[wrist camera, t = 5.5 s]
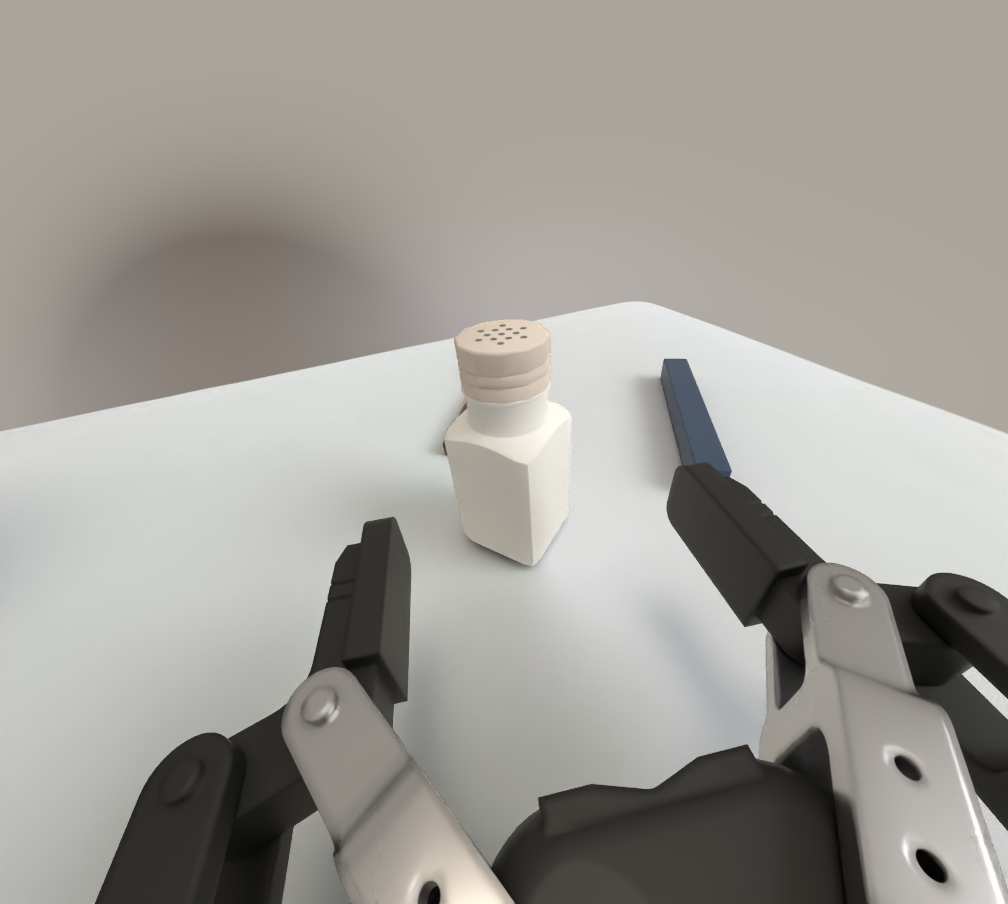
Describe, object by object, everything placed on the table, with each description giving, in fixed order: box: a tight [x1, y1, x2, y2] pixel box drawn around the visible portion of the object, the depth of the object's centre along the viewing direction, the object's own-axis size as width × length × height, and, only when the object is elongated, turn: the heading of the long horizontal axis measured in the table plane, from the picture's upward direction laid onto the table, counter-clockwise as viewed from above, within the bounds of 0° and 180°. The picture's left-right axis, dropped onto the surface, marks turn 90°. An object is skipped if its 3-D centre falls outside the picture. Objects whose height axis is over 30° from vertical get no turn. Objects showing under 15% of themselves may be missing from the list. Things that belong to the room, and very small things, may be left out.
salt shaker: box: [445, 319, 572, 566], centre depth 15 cm, size 4×4×10 cm
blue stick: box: [661, 359, 731, 477], centre depth 24 cm, size 2×13×2 cm, turn 168°
